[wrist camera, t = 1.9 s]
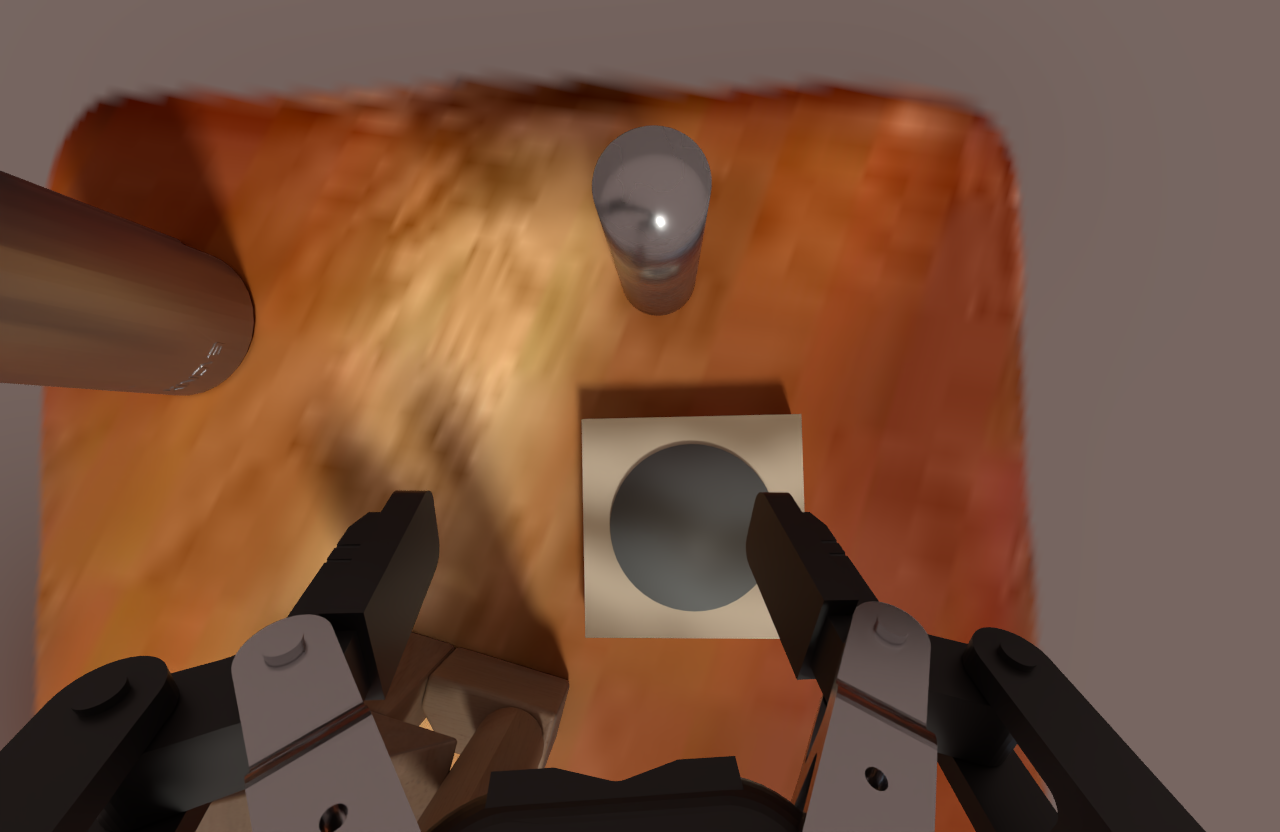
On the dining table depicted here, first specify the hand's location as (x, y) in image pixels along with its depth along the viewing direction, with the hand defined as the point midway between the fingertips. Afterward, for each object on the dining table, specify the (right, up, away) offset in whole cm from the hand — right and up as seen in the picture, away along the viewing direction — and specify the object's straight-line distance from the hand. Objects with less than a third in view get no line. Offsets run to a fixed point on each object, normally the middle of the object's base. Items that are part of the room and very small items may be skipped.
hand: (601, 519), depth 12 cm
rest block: (+4, -3, +16) cm, 17 cm away
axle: (+2, +11, +17) cm, 20 cm away
